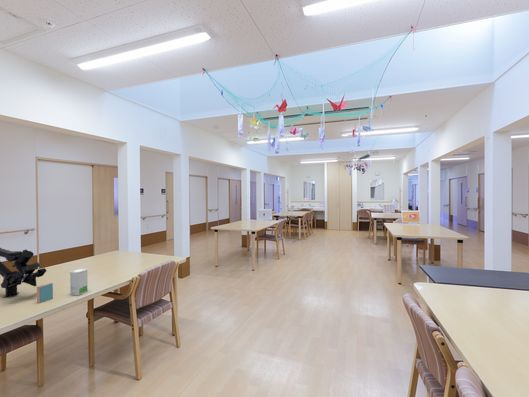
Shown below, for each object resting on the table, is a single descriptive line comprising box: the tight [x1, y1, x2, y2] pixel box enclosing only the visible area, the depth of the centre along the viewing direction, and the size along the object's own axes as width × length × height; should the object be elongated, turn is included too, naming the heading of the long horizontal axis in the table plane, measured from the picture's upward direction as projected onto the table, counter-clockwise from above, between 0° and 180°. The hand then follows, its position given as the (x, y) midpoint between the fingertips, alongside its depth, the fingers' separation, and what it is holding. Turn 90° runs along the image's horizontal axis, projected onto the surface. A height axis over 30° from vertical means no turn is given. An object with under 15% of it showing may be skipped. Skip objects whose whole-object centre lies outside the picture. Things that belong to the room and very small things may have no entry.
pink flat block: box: [36, 282, 54, 304], centre depth 170 cm, size 2×8×10 cm, turn 164°
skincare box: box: [69, 268, 89, 296], centre depth 182 cm, size 8×7×16 cm
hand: (35, 285), depth 172 cm, fingers closed
